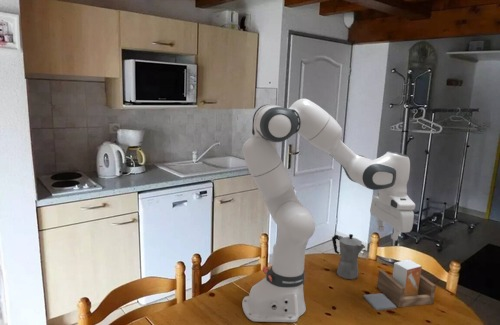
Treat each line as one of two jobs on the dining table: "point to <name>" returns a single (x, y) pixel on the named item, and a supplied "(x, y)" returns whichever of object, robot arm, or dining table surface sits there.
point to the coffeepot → (348, 255)
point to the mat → (379, 301)
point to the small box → (407, 276)
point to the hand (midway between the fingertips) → (387, 235)
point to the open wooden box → (397, 291)
